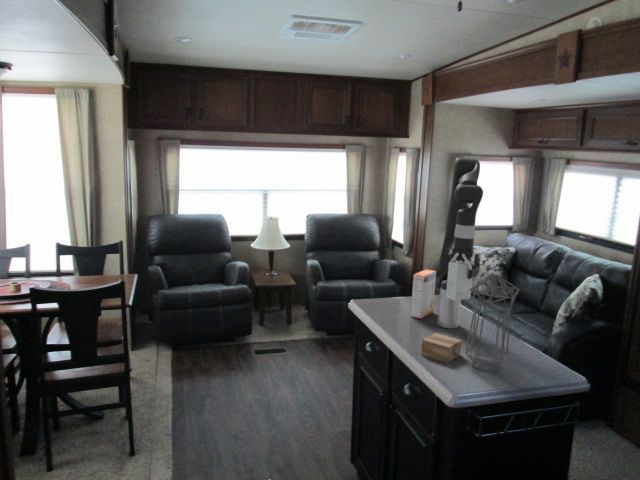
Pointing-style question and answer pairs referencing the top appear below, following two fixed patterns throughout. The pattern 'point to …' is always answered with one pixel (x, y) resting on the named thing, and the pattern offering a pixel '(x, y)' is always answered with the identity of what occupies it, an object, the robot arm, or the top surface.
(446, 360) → the light brown block
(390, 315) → the top surface
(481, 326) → the geometric lantern
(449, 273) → the skincare box
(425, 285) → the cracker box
